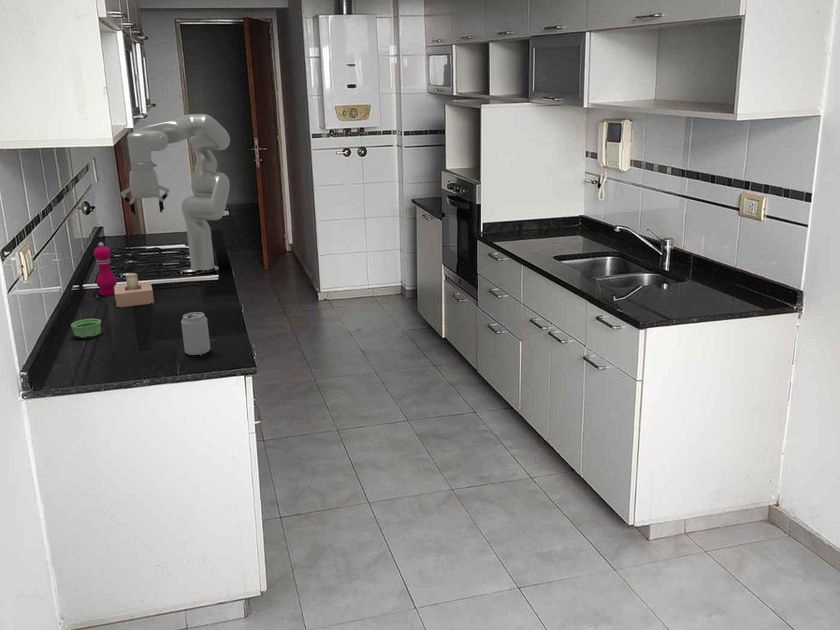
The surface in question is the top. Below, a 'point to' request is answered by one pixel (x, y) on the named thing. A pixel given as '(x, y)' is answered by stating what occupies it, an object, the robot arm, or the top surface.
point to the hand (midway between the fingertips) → (147, 213)
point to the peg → (132, 281)
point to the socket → (134, 295)
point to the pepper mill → (104, 271)
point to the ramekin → (86, 327)
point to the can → (195, 333)
